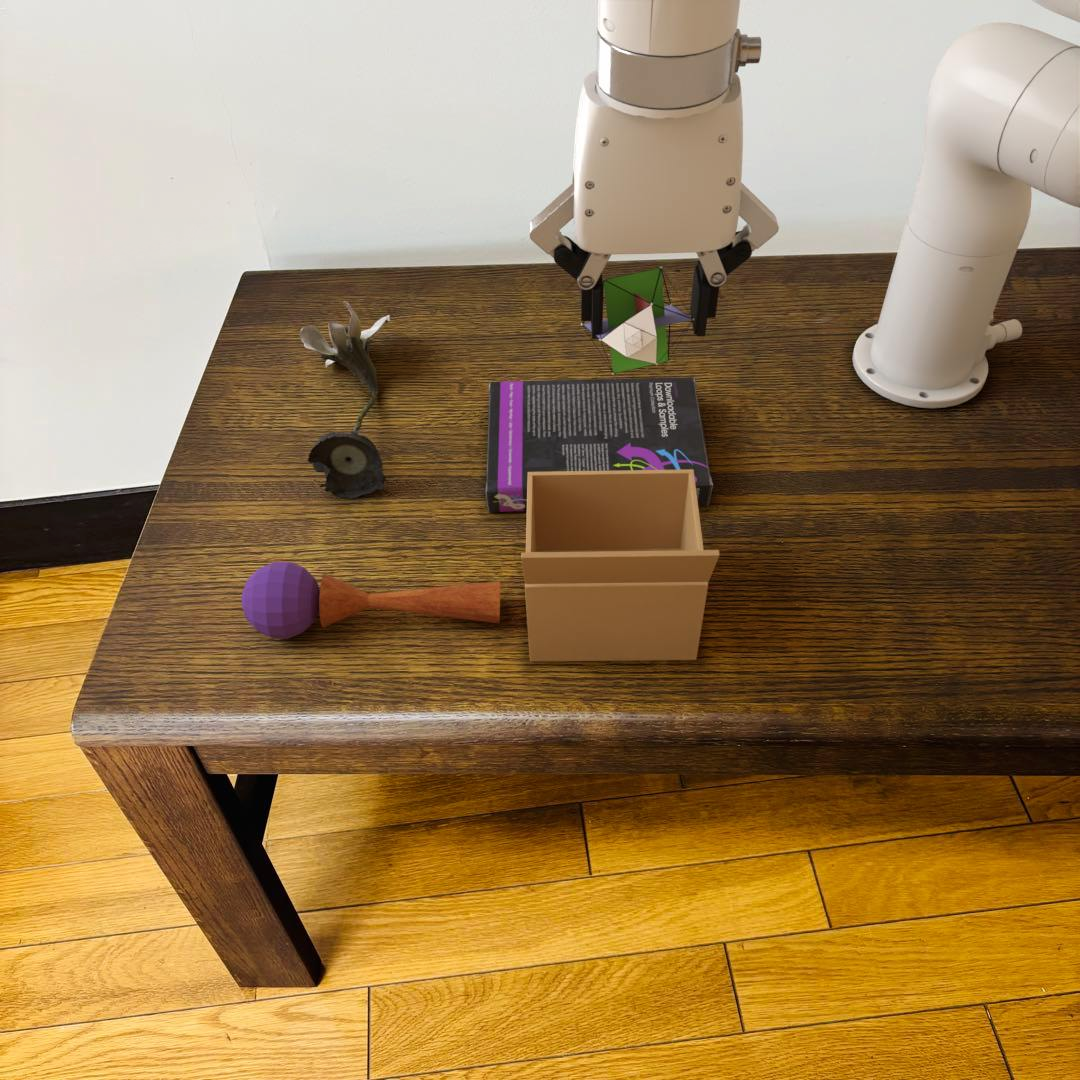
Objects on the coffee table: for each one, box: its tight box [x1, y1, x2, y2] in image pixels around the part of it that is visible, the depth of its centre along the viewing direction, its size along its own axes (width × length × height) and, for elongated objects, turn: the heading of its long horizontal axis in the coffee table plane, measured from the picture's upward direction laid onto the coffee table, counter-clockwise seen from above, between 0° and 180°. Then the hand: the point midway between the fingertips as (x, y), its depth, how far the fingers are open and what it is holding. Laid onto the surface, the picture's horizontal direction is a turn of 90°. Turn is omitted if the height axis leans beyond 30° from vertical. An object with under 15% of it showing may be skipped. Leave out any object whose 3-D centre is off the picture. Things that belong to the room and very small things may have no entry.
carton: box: [524, 469, 709, 662], centre depth 77 cm, size 13×11×9 cm
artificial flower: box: [299, 301, 391, 500], centre depth 94 cm, size 9×22×10 cm, turn 0°
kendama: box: [240, 561, 501, 639], centre depth 78 cm, size 6×6×20 cm
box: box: [484, 376, 714, 513], centre depth 90 cm, size 14×4×20 cm
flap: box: [520, 549, 720, 585], centre depth 67 cm, size 13×6×1 cm
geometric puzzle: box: [580, 266, 694, 376], centre depth 69 cm, size 7×7×8 cm
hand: (646, 323), depth 69 cm, fingers closed on geometric puzzle, 6 cm apart
